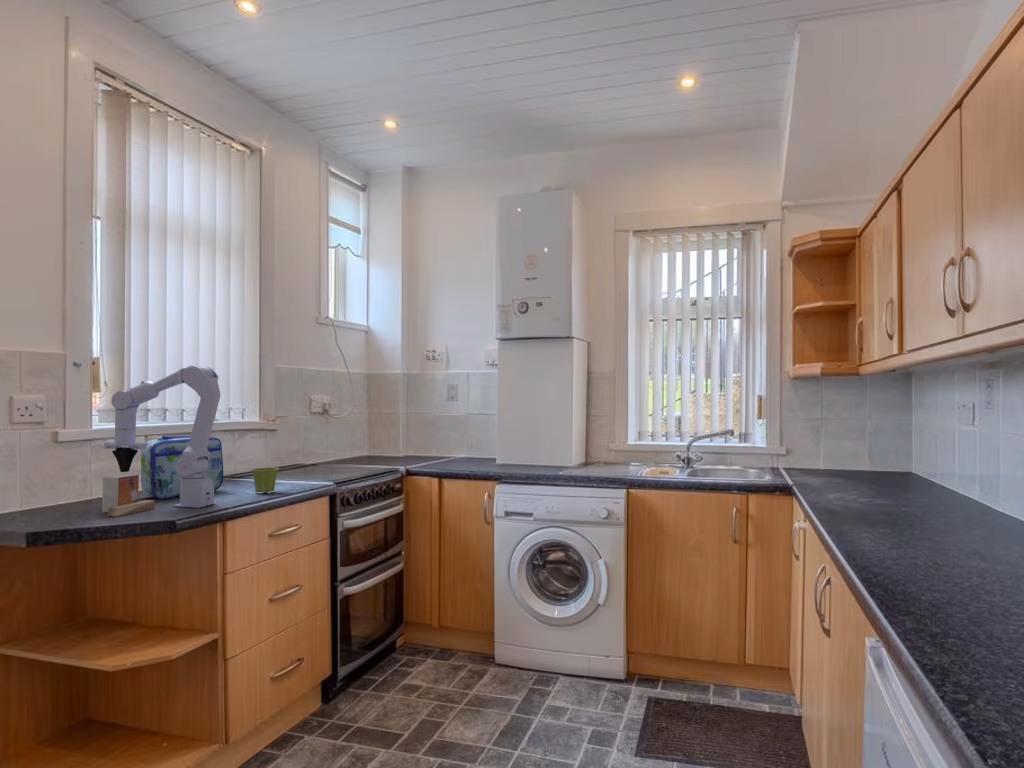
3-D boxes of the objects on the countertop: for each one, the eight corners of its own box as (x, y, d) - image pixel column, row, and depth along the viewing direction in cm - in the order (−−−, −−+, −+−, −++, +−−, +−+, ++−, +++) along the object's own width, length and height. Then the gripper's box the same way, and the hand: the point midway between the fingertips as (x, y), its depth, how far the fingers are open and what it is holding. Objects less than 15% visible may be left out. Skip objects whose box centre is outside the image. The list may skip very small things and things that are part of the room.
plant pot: (244, 494, 225) (245, 469, 225) (264, 490, 234) (264, 467, 234) (265, 495, 221) (265, 470, 222) (284, 492, 230) (284, 468, 230)
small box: (117, 513, 187) (118, 477, 187) (101, 512, 188) (102, 476, 188) (138, 508, 194) (139, 474, 195) (123, 507, 196) (124, 473, 196)
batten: (154, 508, 194) (154, 500, 194) (116, 516, 181) (116, 508, 181) (146, 508, 195) (146, 500, 195) (107, 516, 181) (107, 507, 181)
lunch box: (152, 501, 209) (153, 437, 209) (136, 498, 215) (137, 436, 215) (226, 491, 230) (227, 434, 231) (209, 489, 236) (210, 433, 237)
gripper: (95, 429, 200) (95, 472, 200) (134, 430, 197) (133, 473, 196) (114, 428, 207) (113, 470, 206) (152, 429, 203) (151, 471, 203)
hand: (124, 471), depth 202 cm, fingers closed
